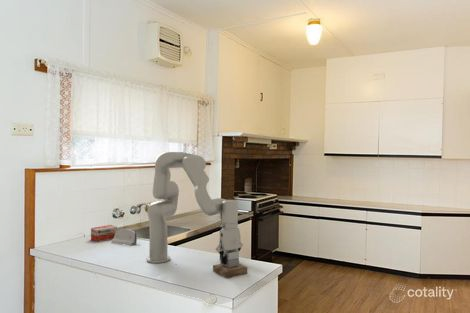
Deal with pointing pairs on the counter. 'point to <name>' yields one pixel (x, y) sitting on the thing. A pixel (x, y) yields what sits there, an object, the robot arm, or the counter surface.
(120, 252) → the counter surface
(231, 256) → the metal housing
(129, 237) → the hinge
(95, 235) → the medicine box
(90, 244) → the counter surface
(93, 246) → the counter surface
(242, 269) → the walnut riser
